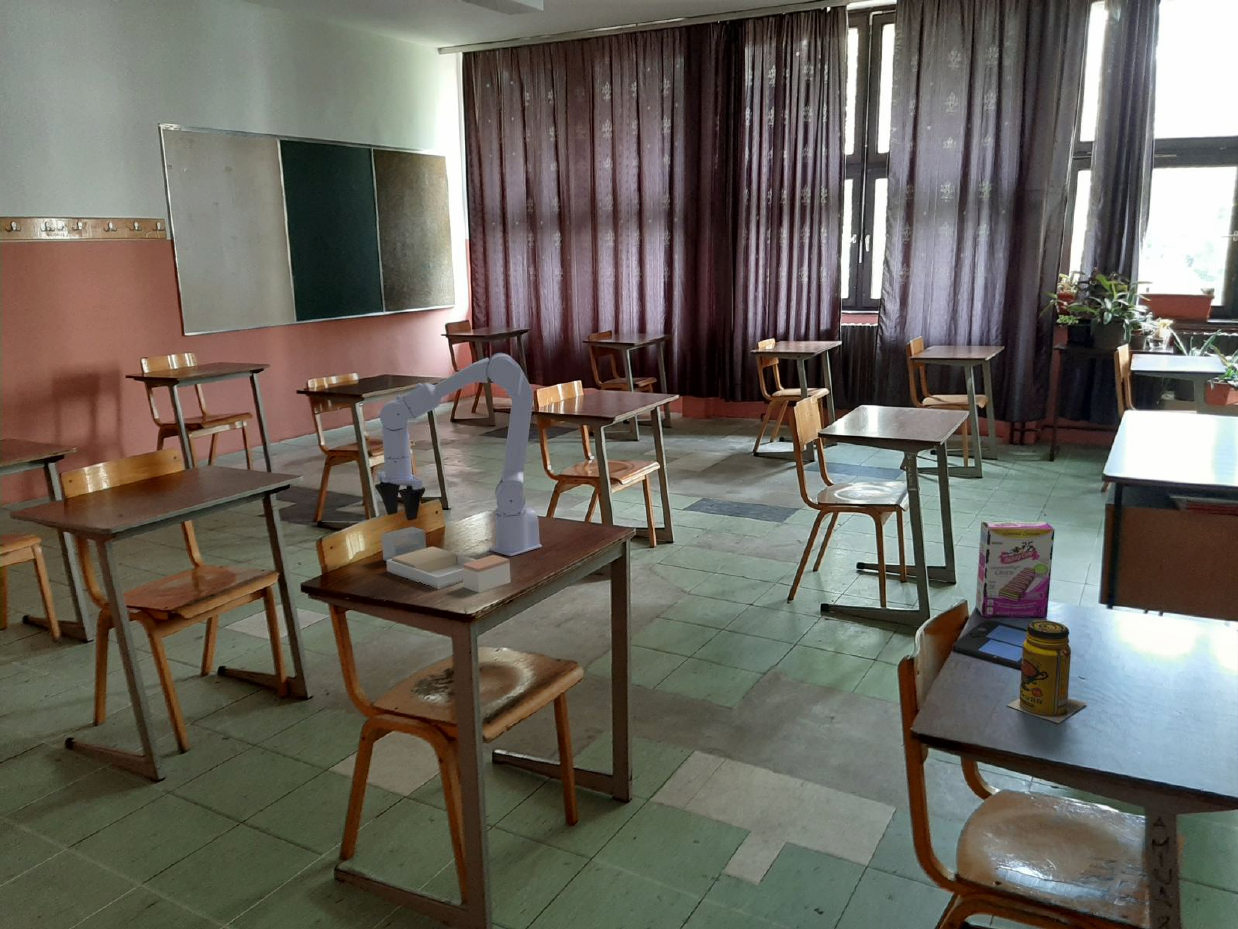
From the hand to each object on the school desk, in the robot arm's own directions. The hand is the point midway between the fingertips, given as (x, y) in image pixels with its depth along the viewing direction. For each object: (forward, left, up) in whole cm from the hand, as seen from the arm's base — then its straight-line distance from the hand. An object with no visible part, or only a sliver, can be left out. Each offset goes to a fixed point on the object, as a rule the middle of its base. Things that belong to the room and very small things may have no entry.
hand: (402, 516), depth 204 cm
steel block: (0, 0, -10) cm, 10 cm away
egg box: (0, +29, -10) cm, 31 cm away
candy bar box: (-49, +115, -10) cm, 125 cm away
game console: (-33, +121, -10) cm, 125 cm away
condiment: (-17, +132, -10) cm, 133 cm away
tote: (+2, +15, -9) cm, 17 cm away
